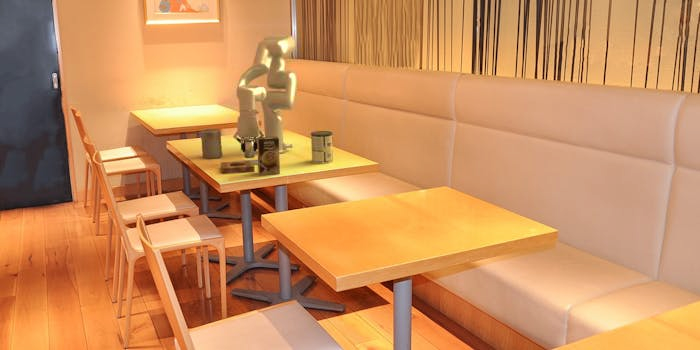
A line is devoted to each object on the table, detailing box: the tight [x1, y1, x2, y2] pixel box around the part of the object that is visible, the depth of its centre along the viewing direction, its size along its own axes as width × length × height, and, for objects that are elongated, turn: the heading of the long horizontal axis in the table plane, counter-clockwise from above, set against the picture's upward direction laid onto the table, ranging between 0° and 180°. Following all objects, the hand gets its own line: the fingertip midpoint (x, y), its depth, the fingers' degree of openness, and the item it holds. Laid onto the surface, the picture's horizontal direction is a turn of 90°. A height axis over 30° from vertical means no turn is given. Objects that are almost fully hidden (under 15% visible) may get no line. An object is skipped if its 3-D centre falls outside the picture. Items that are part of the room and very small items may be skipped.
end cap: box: [243, 137, 256, 159], centre depth 304 cm, size 6×6×9 cm
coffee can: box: [310, 130, 334, 164], centre depth 306 cm, size 10×10×14 cm
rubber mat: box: [242, 159, 258, 166], centre depth 306 cm, size 10×10×1 cm
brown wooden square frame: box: [220, 160, 255, 175], centre depth 292 cm, size 14×14×2 cm
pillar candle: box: [200, 127, 223, 160], centre depth 319 cm, size 10×10×15 cm
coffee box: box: [256, 136, 281, 176], centre depth 282 cm, size 9×6×16 cm
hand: (249, 151), depth 305 cm, fingers closed on end cap, 5 cm apart
